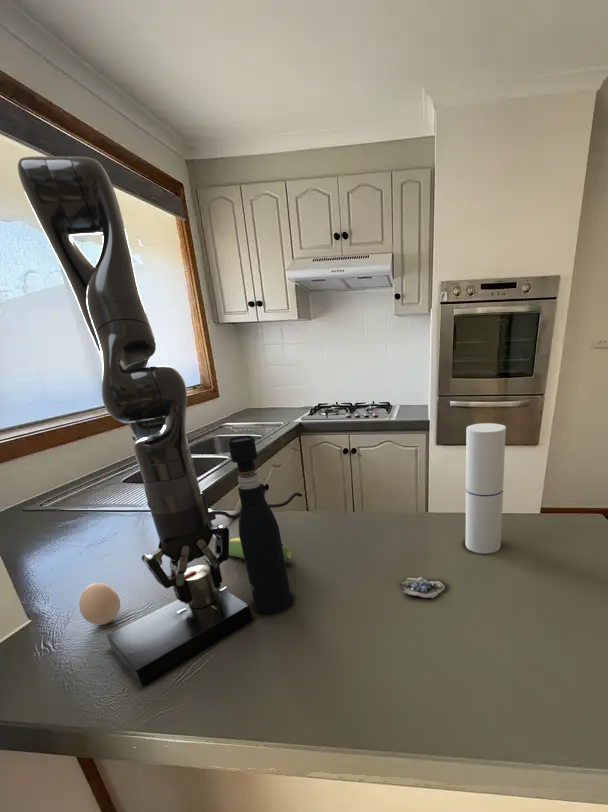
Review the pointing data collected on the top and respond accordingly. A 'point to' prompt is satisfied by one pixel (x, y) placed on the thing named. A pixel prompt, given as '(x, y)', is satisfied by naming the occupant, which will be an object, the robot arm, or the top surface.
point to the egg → (99, 604)
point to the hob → (176, 634)
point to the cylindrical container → (484, 486)
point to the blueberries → (422, 587)
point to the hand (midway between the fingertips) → (201, 593)
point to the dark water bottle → (259, 533)
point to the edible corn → (237, 551)
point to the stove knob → (200, 586)
